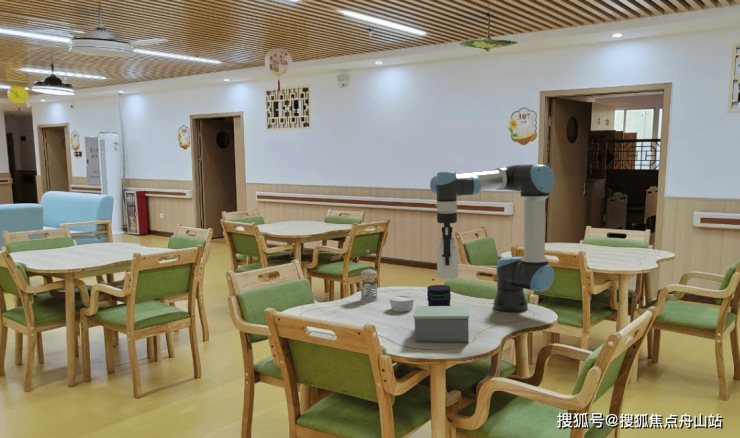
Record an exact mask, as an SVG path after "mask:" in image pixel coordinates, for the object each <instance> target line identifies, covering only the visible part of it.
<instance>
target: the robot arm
mask: <svg viewBox="0 0 740 438" xmlns="http://www.w3.org/2000/svg"><path fill="white" fill-rule="evenodd" d="M555 178H556V177H555V173H554V171H553V170H552V169H551V167H550V166H548V165H546V164H539V163H538V164H513V165H509V166H504V167H497V168H494V169H493V170H491V171H479V172H470V173H469V172H468V173H457V172H456V171H439V172H437V174H436V175H435V176H433V177H432V178H431V180H430V182H429V187H430V190H431V192H432V193H434V194H436V203H435V207H436V212H437V214H436V222H437V223H439V224H443V226H442V227H441V233H442V237H441V238H443V240H444V254H443V255H442V257H444V274H451V254H450V240H451V239H452V238H453V234H452V233H453V227H452V226H451V224H455V223H457V221H458V213H457V211H458V201H457V200H458V197H460V196H473V195H477V194H479V193H480V192H481V190H491V189H494V190H496V191H502V190H503V191H514V192H520V198H521V199H523V203H524V204H523V218H524V219H523V222H524V223H523V231H524V232H523V256H509V257H508V256H507V257H501V258H499V259H498V260H497V262H496V282H497V283H496V287H497V288H496V290H497V291H496V293H495V296H494V300H493V309H495V310H497V311H500V312H507V313H508V312H509V313H510V312H511V313H512V312H513V313H515V312H523V311H526V310H528V308H529V306H528V304H529V303H528V300H527V297H526V295H525V291H524V290H529V291H533V292H540V293H541V292H546V291H547V290H549V288H550V287H551V286H552V284H553V283H554V281H555V280H554V279H555V270H554V269H553V267H552V266H551V265H550V264H549V258H547V256H546V244H545V243H546V238H545V237H546V216H545V215H546V200H547V198H548V197H550V192H552V191H553V189H554V187H555V185H556V184H555V183H556V179H555ZM446 252H448V253H446Z"/></svg>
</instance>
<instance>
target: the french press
mask: <svg viewBox="0 0 740 438" xmlns="http://www.w3.org/2000/svg"><path fill="white" fill-rule="evenodd" d="M365 253H367V254H369V253H370V250H369V249H366V250H365ZM376 274H377V271H376V270H374V269H370V268H369V266H367V269H364V270H362V271H360V275H357V277H355V281H354V283H355V284H354V285H355V287H356V289H357V290H358V291H360V294H361V297H360V299H359V301H360V302H361V303H376V302H378V301H380V298H379V297H378V284H377V282H376V281H377V280H376V279H374V278H370V276H372V275H376ZM362 275H363V276H368V277H367V279H362V280H361V282H362V283H361V284H360V287H361V288H359V287H358V286H357V281H358V279H359V277H360V278H362Z"/></svg>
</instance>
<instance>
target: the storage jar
mask: <svg viewBox="0 0 740 438" xmlns="http://www.w3.org/2000/svg"><path fill="white" fill-rule="evenodd" d="M431 281H435V279H434V278H432V279H431ZM426 289H427V292H426V293H427V294H426V296H427V298H426V300H427V301H428V302H427V303H428V304H427V306H451V300H452V294H451V286H449V285H446V284H445V285H444V284H433V285H429V286H427V288H426Z"/></svg>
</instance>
